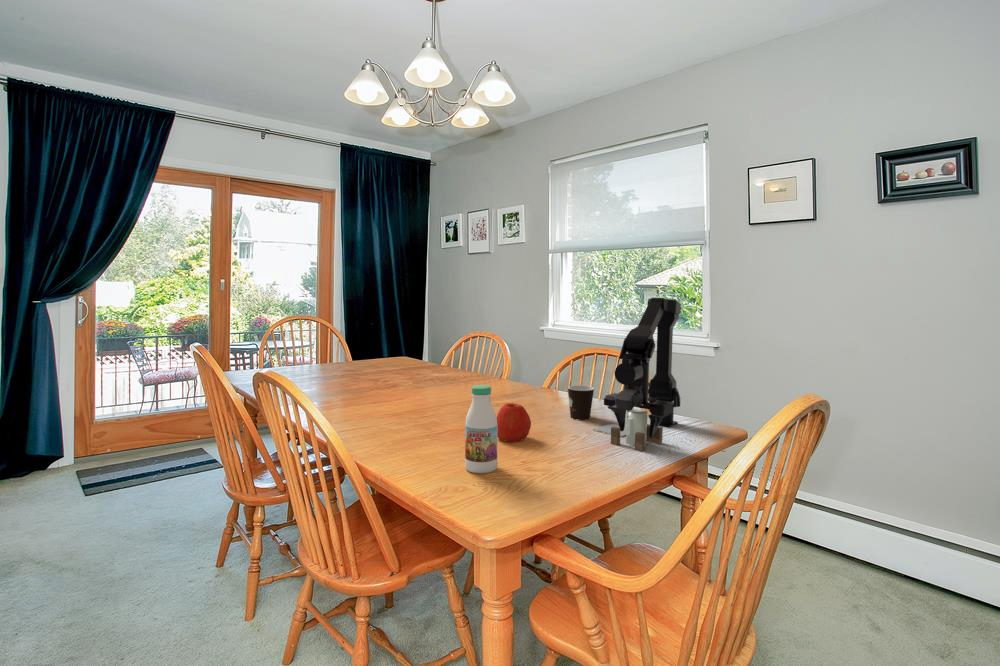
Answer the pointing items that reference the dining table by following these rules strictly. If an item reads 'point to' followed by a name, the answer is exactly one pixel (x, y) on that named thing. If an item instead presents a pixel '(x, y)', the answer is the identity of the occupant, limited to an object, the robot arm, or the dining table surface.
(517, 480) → the dining table surface
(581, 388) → the coffee mug
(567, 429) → the dining table surface
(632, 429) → the cylinder with square knob
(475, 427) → the milk bottle
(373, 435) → the dining table surface
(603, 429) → the slate mat
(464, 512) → the dining table surface
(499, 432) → the apple
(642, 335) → the robot arm
